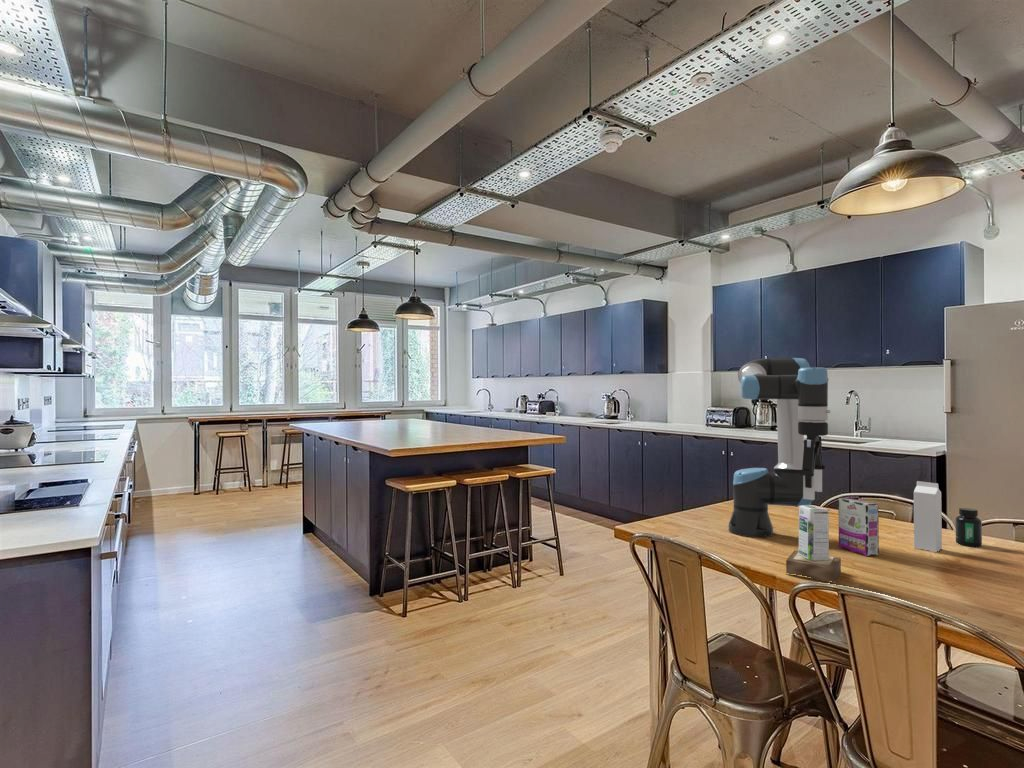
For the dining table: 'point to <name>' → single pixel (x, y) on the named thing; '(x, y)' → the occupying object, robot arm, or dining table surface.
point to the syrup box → (813, 533)
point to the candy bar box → (858, 526)
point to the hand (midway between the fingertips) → (813, 495)
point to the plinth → (814, 567)
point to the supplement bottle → (968, 528)
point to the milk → (927, 517)
